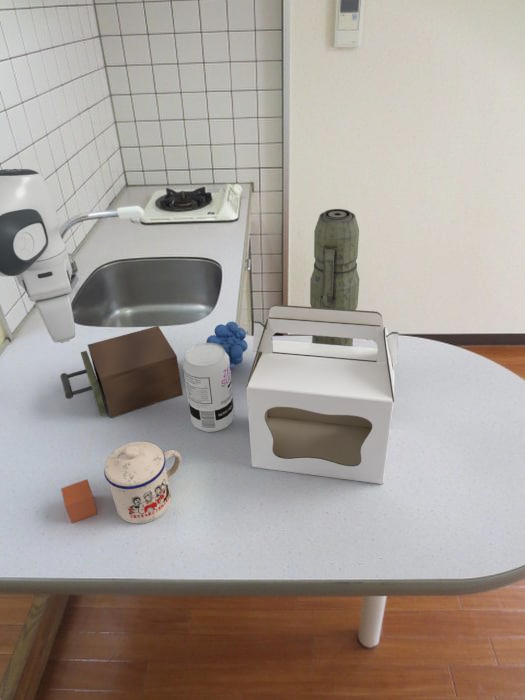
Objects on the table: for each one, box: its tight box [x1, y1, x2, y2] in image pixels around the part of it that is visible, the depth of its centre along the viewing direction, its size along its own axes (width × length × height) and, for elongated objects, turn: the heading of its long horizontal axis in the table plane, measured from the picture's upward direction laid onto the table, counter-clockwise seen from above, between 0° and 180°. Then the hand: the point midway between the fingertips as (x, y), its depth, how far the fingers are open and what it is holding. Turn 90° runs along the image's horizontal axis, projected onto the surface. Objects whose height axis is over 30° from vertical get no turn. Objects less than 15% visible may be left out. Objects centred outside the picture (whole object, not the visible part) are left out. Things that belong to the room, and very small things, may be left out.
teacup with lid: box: [103, 441, 182, 524], centre depth 81 cm, size 12×9×12 cm
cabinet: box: [87, 325, 184, 418], centre depth 105 cm, size 15×13×10 cm
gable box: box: [245, 304, 399, 485], centre depth 84 cm, size 22×13×28 cm, turn 78°
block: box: [61, 479, 98, 524], centre depth 82 cm, size 4×4×4 cm
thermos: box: [309, 208, 360, 347], centre depth 98 cm, size 9×12×35 cm
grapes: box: [205, 320, 248, 372], centre depth 108 cm, size 12×7×12 cm, turn 140°
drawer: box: [59, 350, 107, 416], centre depth 104 cm, size 18×11×8 cm, turn 116°
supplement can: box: [182, 342, 236, 433], centre depth 95 cm, size 8×8×15 cm
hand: (64, 337), depth 95 cm, fingers closed
